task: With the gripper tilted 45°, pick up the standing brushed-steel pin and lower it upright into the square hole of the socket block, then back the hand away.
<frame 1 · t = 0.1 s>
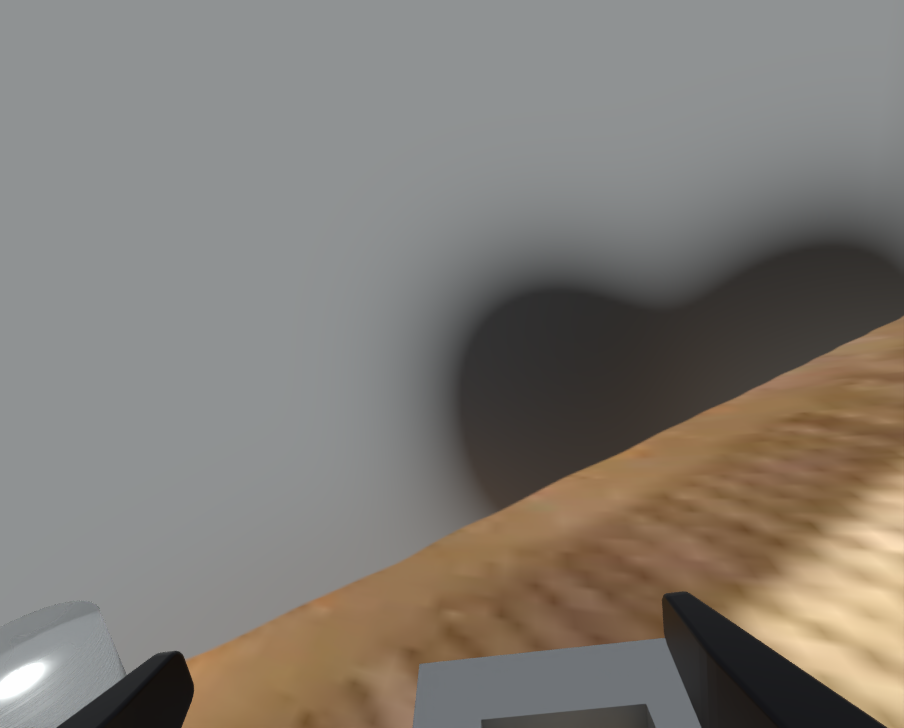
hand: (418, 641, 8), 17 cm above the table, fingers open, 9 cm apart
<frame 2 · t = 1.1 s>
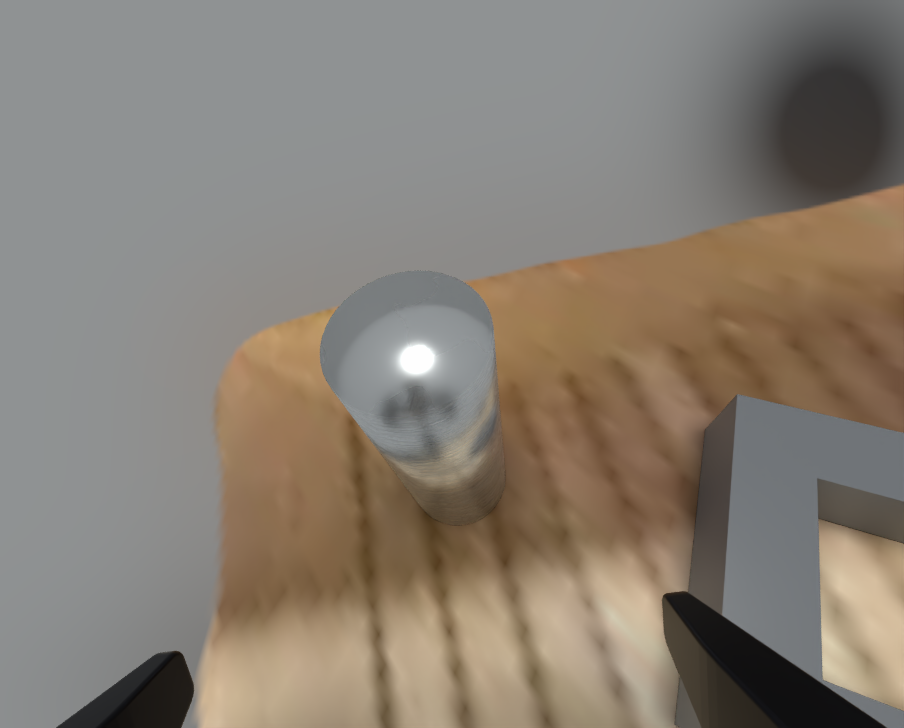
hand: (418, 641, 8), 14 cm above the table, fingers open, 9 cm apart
steel pin: (458, 476, 23), on the table
socket block: (862, 613, 18), on the table
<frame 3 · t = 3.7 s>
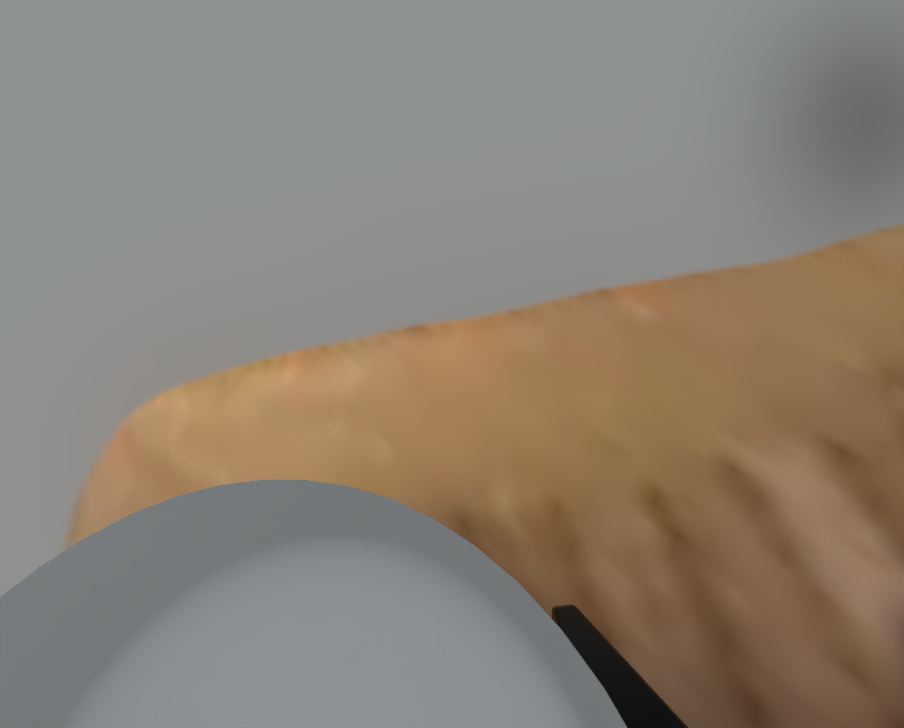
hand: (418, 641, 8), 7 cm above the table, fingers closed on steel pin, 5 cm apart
steel pin: (464, 693, 13), on the table, touching gripper
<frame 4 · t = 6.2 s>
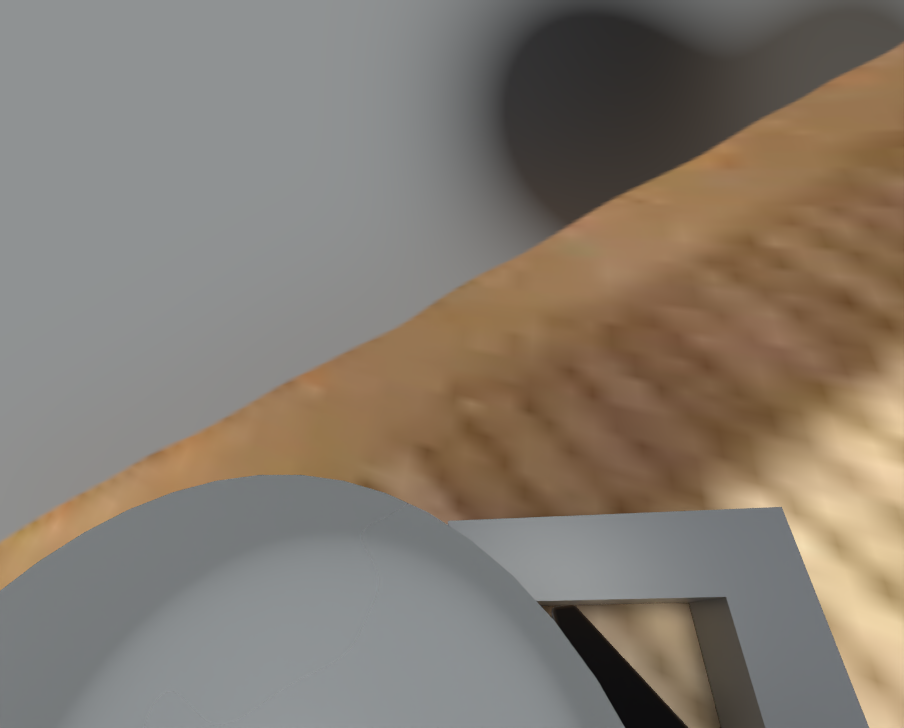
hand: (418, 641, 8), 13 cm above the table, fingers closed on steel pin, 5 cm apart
steel pin: (463, 692, 13), point 7 cm above the table, touching gripper
socket block: (623, 703, 18), on the table
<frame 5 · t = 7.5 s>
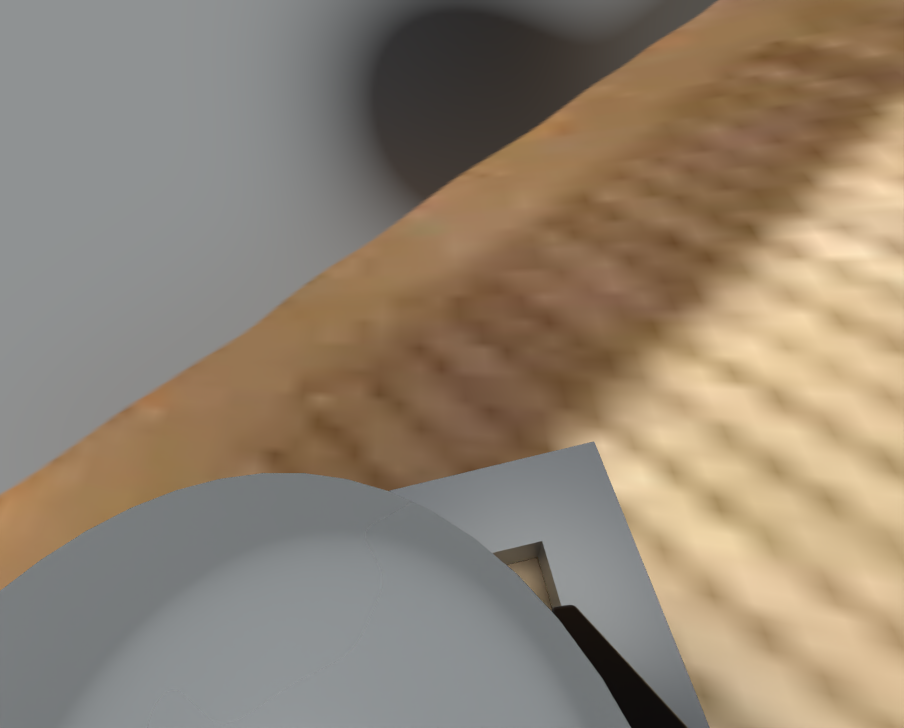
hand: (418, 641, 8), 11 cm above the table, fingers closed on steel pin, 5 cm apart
steel pin: (464, 691, 13), point 5 cm above the table, touching gripper
socket block: (476, 675, 17), on the table
when the fingers open (7 cm above the table, at t = 8.6 s): steel pin stays where it is, resting in socket block.
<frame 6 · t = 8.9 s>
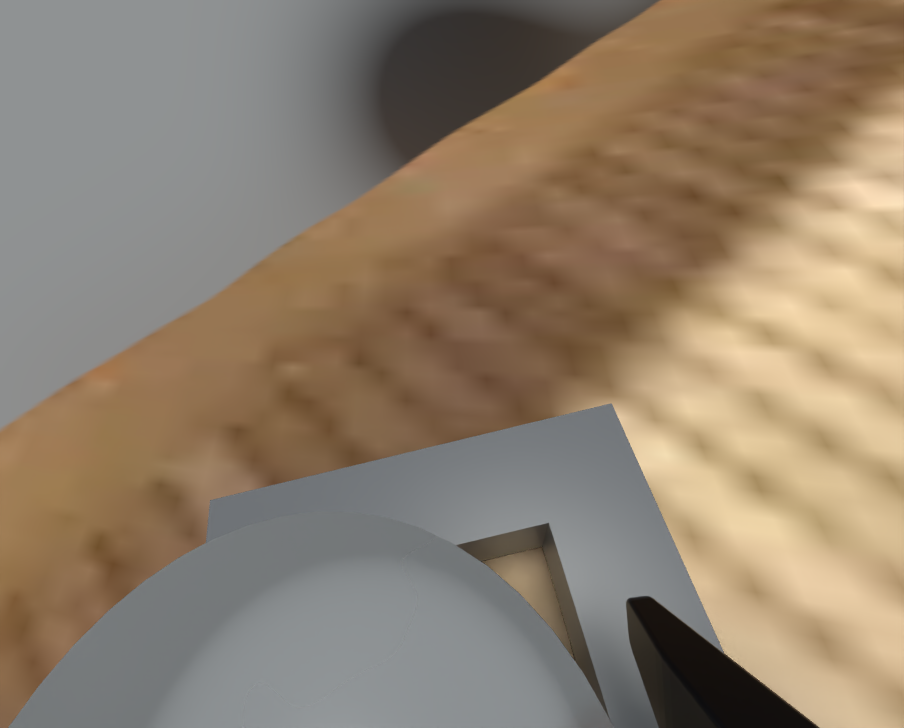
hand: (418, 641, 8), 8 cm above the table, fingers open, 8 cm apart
steel pin: (467, 690, 14), resting in socket block
socket block: (467, 689, 14), on the table
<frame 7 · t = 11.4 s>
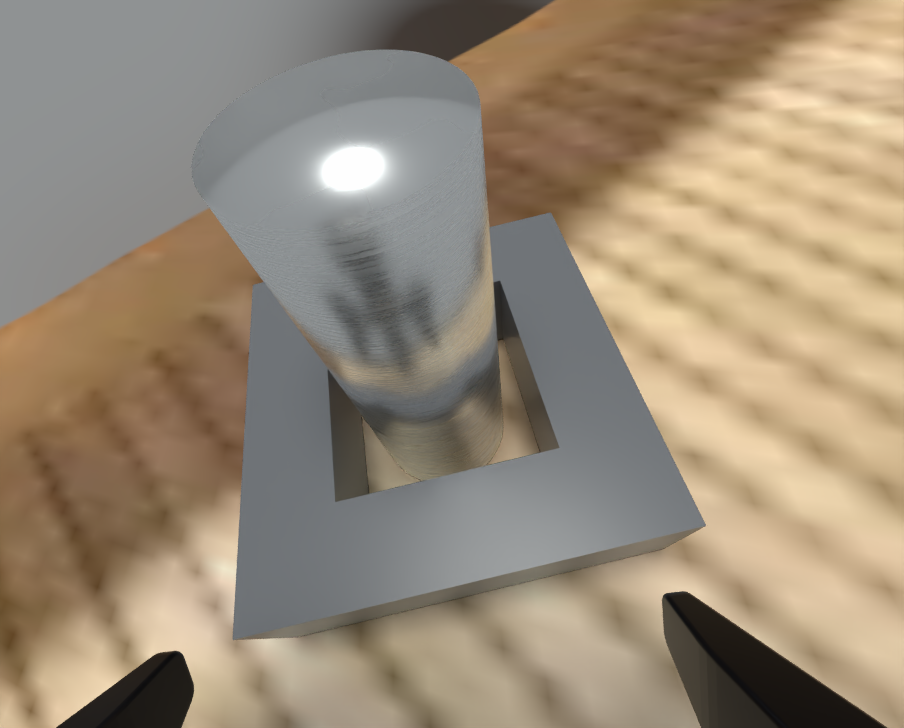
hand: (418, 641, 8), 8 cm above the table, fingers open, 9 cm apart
steel pin: (443, 424, 19), resting in socket block
socket block: (444, 423, 19), on the table
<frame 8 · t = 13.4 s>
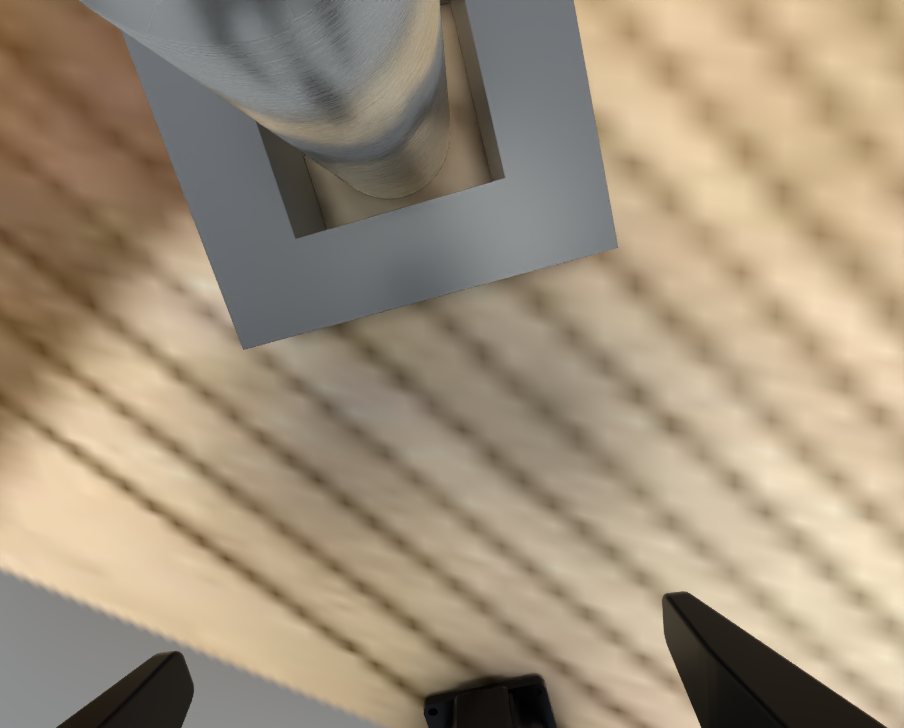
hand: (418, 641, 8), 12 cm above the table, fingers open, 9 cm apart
steel pin: (386, 131, 17), resting in socket block
socket block: (387, 130, 17), on the table
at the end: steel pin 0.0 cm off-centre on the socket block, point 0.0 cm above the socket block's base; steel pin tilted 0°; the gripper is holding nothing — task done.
